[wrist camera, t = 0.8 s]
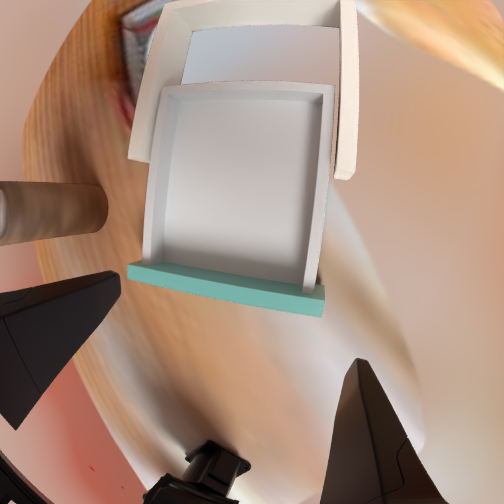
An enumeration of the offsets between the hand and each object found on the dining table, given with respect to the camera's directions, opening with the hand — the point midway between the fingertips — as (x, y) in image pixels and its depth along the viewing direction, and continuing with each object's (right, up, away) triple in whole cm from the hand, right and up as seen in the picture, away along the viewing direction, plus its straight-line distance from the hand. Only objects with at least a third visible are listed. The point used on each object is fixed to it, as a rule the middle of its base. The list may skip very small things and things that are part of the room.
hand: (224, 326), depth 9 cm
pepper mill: (-16, +7, +18) cm, 25 cm away
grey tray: (0, +8, +13) cm, 15 cm away
